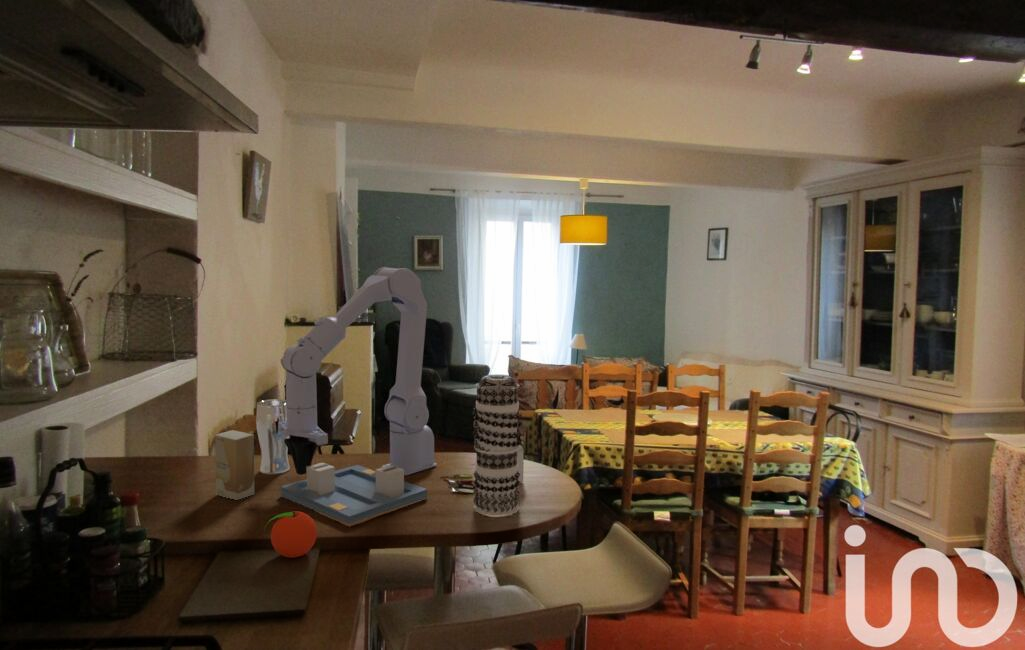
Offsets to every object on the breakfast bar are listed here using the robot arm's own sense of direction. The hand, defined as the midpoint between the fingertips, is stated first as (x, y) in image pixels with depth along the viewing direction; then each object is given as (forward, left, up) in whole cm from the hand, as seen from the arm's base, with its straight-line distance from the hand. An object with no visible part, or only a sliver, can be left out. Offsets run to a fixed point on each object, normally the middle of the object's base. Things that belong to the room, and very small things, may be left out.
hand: (303, 473), depth 135 cm
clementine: (+17, +24, -4) cm, 30 cm away
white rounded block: (-31, +28, -4) cm, 42 cm away
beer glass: (-3, -15, -4) cm, 16 cm away
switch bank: (-4, +11, -3) cm, 12 cm away
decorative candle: (-19, +35, -4) cm, 40 cm away
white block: (-8, +17, -2) cm, 19 cm away
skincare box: (+10, -7, -4) cm, 13 cm away
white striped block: (0, +6, -2) cm, 6 cm away
